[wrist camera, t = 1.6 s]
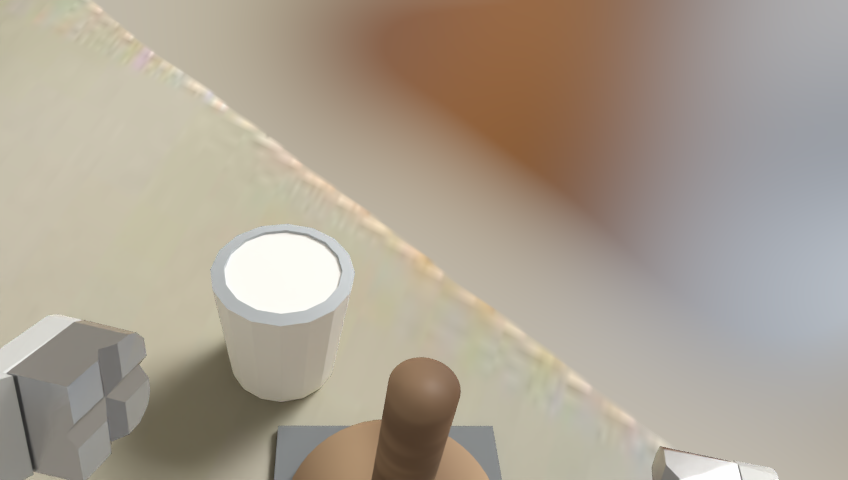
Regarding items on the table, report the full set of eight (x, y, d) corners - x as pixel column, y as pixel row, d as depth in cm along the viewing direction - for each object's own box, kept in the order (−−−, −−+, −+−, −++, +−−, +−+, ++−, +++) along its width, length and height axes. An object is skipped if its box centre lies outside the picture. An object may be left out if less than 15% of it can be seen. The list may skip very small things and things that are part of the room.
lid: (273, 647, 27) (269, 528, 20) (288, 425, 35) (290, 279, 28) (517, 636, 29) (594, 522, 22) (483, 426, 36) (532, 288, 29)
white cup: (279, 436, 35) (278, 349, 30) (192, 358, 37) (178, 266, 33) (372, 358, 39) (384, 271, 34) (287, 293, 42) (288, 204, 37)
